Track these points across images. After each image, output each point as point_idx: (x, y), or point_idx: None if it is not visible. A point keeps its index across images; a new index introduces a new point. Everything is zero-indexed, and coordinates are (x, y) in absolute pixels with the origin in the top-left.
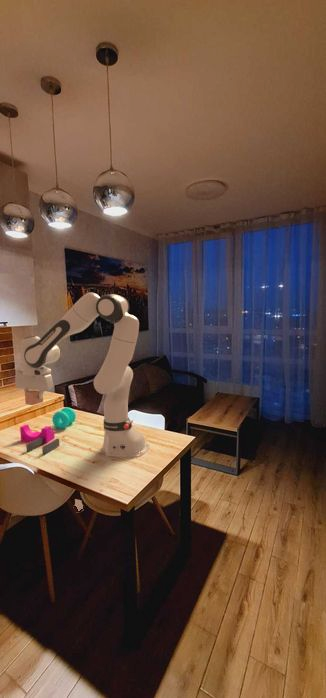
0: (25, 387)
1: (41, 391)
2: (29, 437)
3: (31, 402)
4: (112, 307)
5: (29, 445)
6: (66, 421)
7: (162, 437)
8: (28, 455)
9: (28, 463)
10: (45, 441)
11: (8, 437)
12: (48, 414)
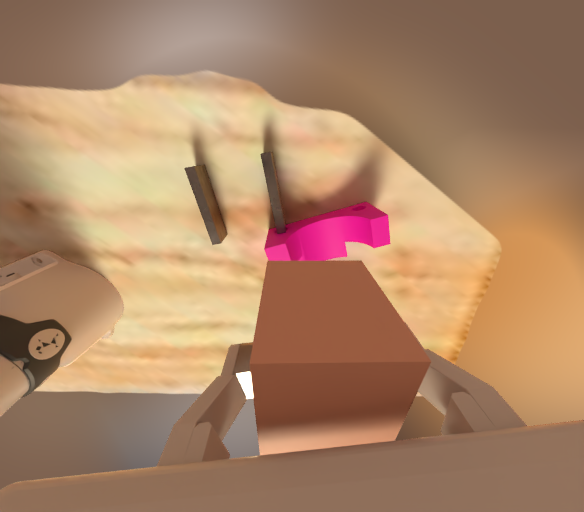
0: (493, 466)
1: (171, 439)
2: (335, 215)
3: (274, 273)
4: None
5: (262, 160)
6: None
7: None
8: (241, 134)
9: (179, 86)
10: (274, 229)
11: (435, 201)
12: None
